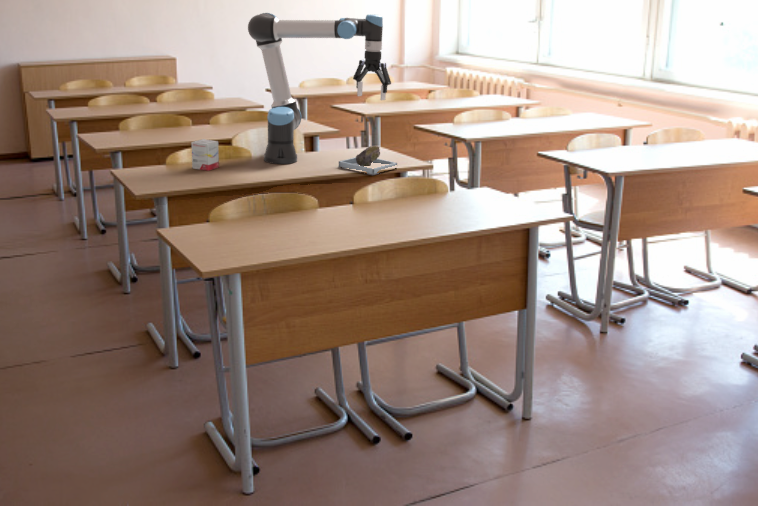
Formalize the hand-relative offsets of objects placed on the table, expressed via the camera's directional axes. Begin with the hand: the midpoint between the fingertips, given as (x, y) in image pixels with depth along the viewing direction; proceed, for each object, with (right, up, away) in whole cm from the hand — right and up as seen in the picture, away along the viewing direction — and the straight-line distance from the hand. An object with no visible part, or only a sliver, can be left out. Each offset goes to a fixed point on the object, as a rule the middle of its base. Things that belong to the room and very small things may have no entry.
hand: (371, 98), depth 382 cm
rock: (-2, -32, -6) cm, 33 cm away
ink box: (-72, -34, -18) cm, 81 cm away
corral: (-1, -32, -6) cm, 33 cm away
